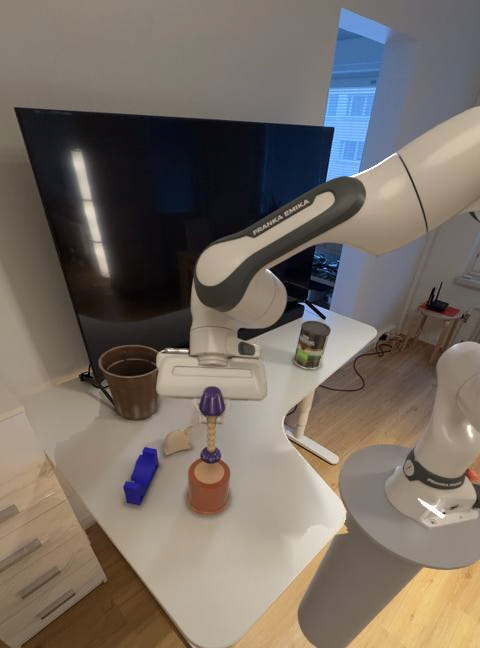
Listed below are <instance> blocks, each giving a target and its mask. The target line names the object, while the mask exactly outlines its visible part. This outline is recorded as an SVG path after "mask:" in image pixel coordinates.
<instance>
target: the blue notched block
mask: <svg viewBox="0 0 480 648" xmlns="http://www.w3.org/2000/svg"><path fill="white" fill-rule="evenodd" d="M159 466H160V465H159V455H158V449H157V448H152V447H147V446H144V447H143V449H142V453H141V454H139V455H138V457H137V459H136V461H135V464H134V468H133V471H132V474H131V475H130V480H131V481H128V480H125V482H124V484H123V486H122V487H123V493H124V497H125V500H126V503H127V504H129V505H134V506H139V507H140V506H141V504H142V503H143V500H144V498H145V496H146V494H147V491H148V489H149V487H150V485H151V483H152V481H153V479H154V477H155V475H156V472H157V470H158V468H159Z"/></svg>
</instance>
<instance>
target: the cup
mask: <svg viewBox="0 0 480 648" xmlns="http://www.w3.org/2000/svg"><path fill="white" fill-rule="evenodd" d="M187 475H188V477H187V479H188V481H187V484H188V491H187V495H186V497H187V504H188V505H189V507H190V508H191V510H193V511H194V512H196V513H197V514H200V515H204V516H213V515H216V514H219V513H221V512H222V511H223V510H225V508H226V507H227V506H228V504H229V501H230V492H229V491H230V490H229V489H230V480H231V469H230V467H229V465H228V464H227V462H225V461H224V460H223V459H220V460H219V461H218V462H217V463H214V464H208V463H205V462H204V461H202V459H201V457H200V458H198V459H196V460H194V461H193V462H192V463H191V464H190V466H189V467H188V470H187Z"/></svg>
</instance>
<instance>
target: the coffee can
mask: <svg viewBox="0 0 480 648" xmlns="http://www.w3.org/2000/svg"><path fill="white" fill-rule="evenodd" d="M299 331H300V332H299V335H298V339H297V344H296V350H295V353H294V356H293V362H294V364H295V365H296V366H297V367H299V368H302V369H305V370H309V371H310V370H311V371H313V370H317V369H319V368H320V367H321V366H322V361H323V357H324V355H325V351H326V347H327V344H328V340H329V337H330V334H331V331H332V329H331V327H330V326H329V325H327V324H326V323H324V322H322V321H317V320H307V321H303V322H302V323H301V325H300V330H299Z"/></svg>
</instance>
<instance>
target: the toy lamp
mask: <svg viewBox="0 0 480 648" xmlns="http://www.w3.org/2000/svg"><path fill="white" fill-rule="evenodd" d="M198 406H199V409H200V411H201V413H203V414H204V415H206V416H207V424H206V427H207V428H206V433H207V434H206V446H205V447H203V448H202V450H201V452H200V454H199V455H200V456H199V457H200V458H201V459H202V461H204V462H205V463H208V464H214V463H217V462H218V461H219V460H220V459H221V458H222V453H221V450H220V449H219V448H218V447H217V446H216V443H217V442H216V441H217V440H216V439H217V435H216V433H217V424H216V420H217V419H216V416H218V415H220V414H222V413H223V412H224V410H225V404H224V400H223V396H222V393H221V390H220V389H219V388H218V387H215V386H210V387H207V388H206V389H205V390H204V392H203V395H202V398H201V401H200V404H199V405H198ZM221 460H222V459H221Z"/></svg>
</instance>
